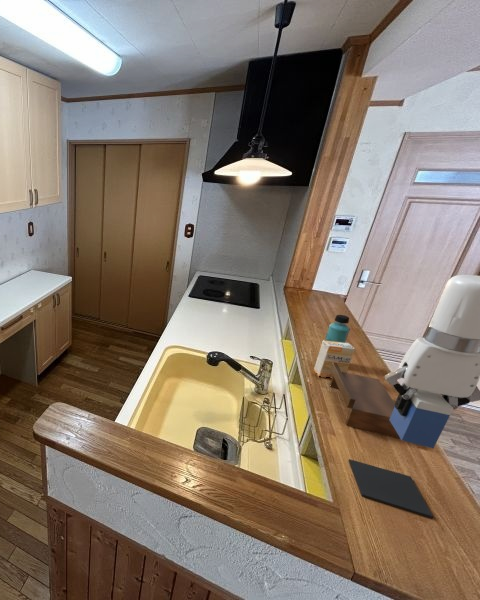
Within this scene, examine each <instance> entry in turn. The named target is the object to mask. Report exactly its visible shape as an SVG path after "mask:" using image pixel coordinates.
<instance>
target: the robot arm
mask: <svg viewBox="0 0 480 600" xmlns="http://www.w3.org/2000/svg"><path fill="white" fill-rule="evenodd" d="M383 378H384V379H385V380H386V382H387V383H388V384H390V385H391V386H392V387H393V388H394V389H395V391H396V392H397V393H398V395H397V398H396V400H395V401H394V402H395V408H396V409H397V410H398V412H399V413H400V415H401V416H406V415H407V412H408V410H409V408H410V406H411V403H412V401H411V400H410V398H411V397H412V396H413V395H414V394H415V393H416V392H417V391H418V390H423V391H428V392H433V393H438V394H440V395H441V396H442V397H443V398H444V399H445V400H446V401H447V402H448V403H449V404H450V406H451V407H452V408H453V410H452V411H454V410H457V409H458V408H459V407H461V406H465V405H468V404H470V403H474V402H478V401H479V402H480V388H479V387H478V386H477V385H478V383H479V381H480V275H475V274H457V275H453V276H452V277H450V278H449V279H448V281H447V282H446V284H445V287H444V289H443V291H442V293H441V296H440V298H439V301H438V303H437V305H436V308H435V310H434V312H433V315H432V317H431V319H430V321H429V324H428V326H427V329H426V331H425V334H424V335H423V337H420V336H419V337H417V338H416V339H415V340H414V341H413V342H412V344H411V345H410V347H409V348H408V349H407V351H406V353H405V354H404V356H403V358H402V359H401V362H400V363H399V365H398V367H397V369H396V370H393V371H391V372H389V373H387V374H385V375H384V376H383ZM400 379H404V380H403V383H402V384H401V383H400V382H399V381H398V380H400Z"/></svg>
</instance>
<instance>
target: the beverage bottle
mask: <svg viewBox="0 0 480 600" xmlns="http://www.w3.org/2000/svg"><path fill="white" fill-rule="evenodd" d="M334 321H335V322H331V323H330V324H329V326H328V329H327V332H326V335H325V338H324V340H325V341H334V342H343V343H347V340H348V337H349V333H350V330H351V328H350V327H349V326H348V325H347V324H349V322H350V317H349V316H347V315H346V314H345V315H344V314H337V315H335V318H334Z"/></svg>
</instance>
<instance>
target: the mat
mask: <svg viewBox="0 0 480 600" xmlns="http://www.w3.org/2000/svg"><path fill="white" fill-rule="evenodd" d="M348 464H349V466H350V469H351V471H352V474H353V477H354V480H355V482H356V485H357V488H358V490H359V493H360V495H361V497H363V498H367V499H368V500H372V501H375V502H378V503H382V504H384V505H388V506H391V507H395V508H398V509H401V510H404V511H407V512H411V513H413V514H416V515H420V516H423V517H426V518H429V519H432V520H433V518H434V514H433V513H432V511H431V509H430V507H429V506H428V504H427V503H426V501H425V499H424V497H423V496H422V493H421V491H420V490H419V488H418V486H417V485H416V483H415V481H414V479H413V478H412V476H411V475H407V474H403V473H400V472H396V471H393V470H390V469H386V468H382V467H379V466H375V465H371V464H369V463H365V462H361V461H357V460H354V459H350V458H349V459H348Z"/></svg>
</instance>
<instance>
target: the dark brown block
mask: <svg viewBox="0 0 480 600" xmlns="http://www.w3.org/2000/svg"><path fill="white" fill-rule="evenodd" d="M330 370H331V372H332V375H333V376H332V378H330V379H331V380H330V383H329V387H330V388H332V389H333V388H334V389H338V390H339V392H340V394H341V397H342V399H343V401H344V403H345V405H346V408H349V411H348V415H347V418H346V420H345V425H346V426H347V427H352V428H356V429H359V430H364V431H366V432H367V431H368V432H371V433H376V434H380V435H384V436H388V437H392V438H396V439H398V440H399V439H400V440H401V438H400V437H399V435H398V433H397V432H396V430H395V428H394V427H393V425H392V424H391V422H390V420H389V419H390V417H391V414H392V412H393V410H394V407H395V402H396V401H394V399H393V398H392V397H391V395H390V394H389V392H388V390H387V389H386V388H385V386H384V384H383V383H382V381H381V380H380V379H379V378H374V377H369V376H365V375H359V374H354V373H349V372H347V373H345V372H341V371H340V369H339V367H338V365H337V363H334V362H332V365H331V368H330ZM330 385H331V386H330ZM332 386H333V387H332Z"/></svg>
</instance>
